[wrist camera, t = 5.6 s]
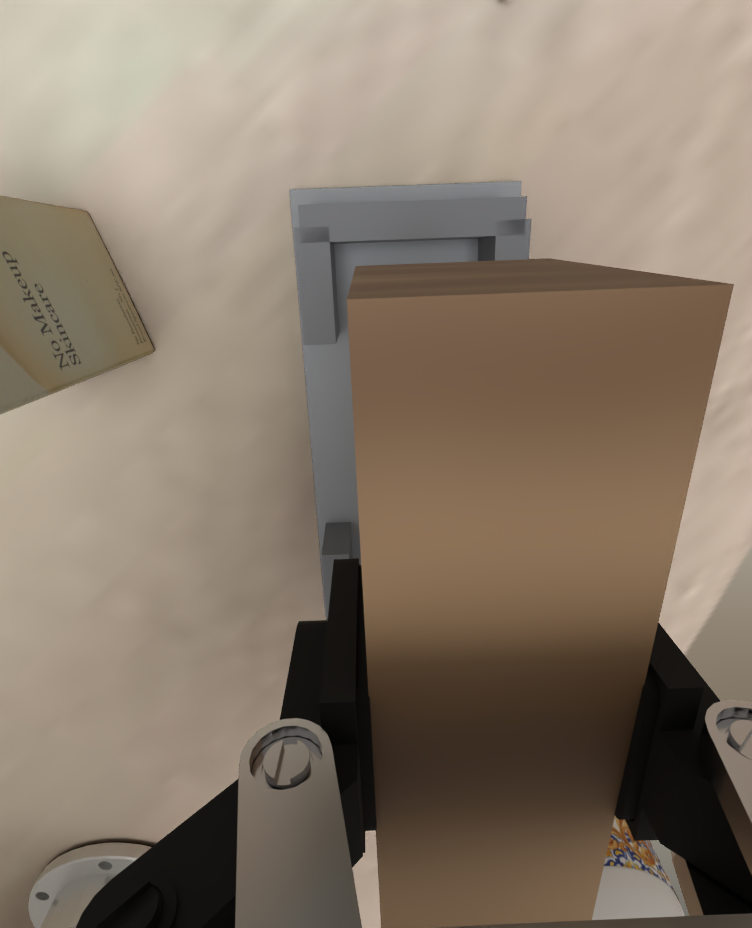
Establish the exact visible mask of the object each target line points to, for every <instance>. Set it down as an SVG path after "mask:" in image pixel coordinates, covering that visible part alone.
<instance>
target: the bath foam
mask: <svg viewBox="0 0 752 928" xmlns="http://www.w3.org/2000/svg"><path fill="white" fill-rule="evenodd" d="M676 916H685V915H684V913H683V911H682V908H681V906H680V903H679V899H678V897H677V895H676V893H675V891H674V889H673V887H672V885H671V883H670V881H669V879H668V877H667V875H666V873H665V870H664V868H663V866H662V864H661V862H660V860H659V859H658V856H657V854H656V852H655V850H654V848H653V846H652V844H651V842H650V840H644V841H635V840H634V838H633V836H632V834H631V832H630V829H629V827H628V825H627V823H626V821H625V820H619V819H617V818H616V816H615V818H614V823H613V827H612V832H611V836H610V841H609V845H608V850H607V854H606V858H605V863H604V867H603V872H602V876H601V881H600V885H599V890H598V894H597V899H596V903H595V908H594V912H593V917H592V920H606V919H629V918H653V917H676Z"/></svg>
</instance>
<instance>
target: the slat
mask: <svg viewBox="0 0 752 928" xmlns="http://www.w3.org/2000/svg"><path fill="white" fill-rule="evenodd" d="M733 285H734V284H727V283H720V282H713V281H706V280H699V279H692V278H684V277H677V276H670V275H663V274H656V273H649V272H641V271H634V270H627V269H620V268H613V267H606V266H598V265H591V264H584V263H577V262H570V261H563V260H555V259H524V260H499V261H473V262H447V263H421V264H395V265H369V266H356V267H355V270H354V274H353V278H352V282H351V285H350V289H349V293H348V297H347V313H348V331H349V349H350V367H351V386H352V404H353V422H354V440H355V458H356V476H357V495H358V513H359V531H360V549H361V567H362V586H363V604H364V622H365V640H366V658H367V677H368V695H369V697H370V709H371V728H372V747H373V765H374V784H375V803H376V821H377V830H376V840H377V858H378V877H379V895H380V913H381V928H436V927H456V926H476V925H496V924H516V923H539V922H561V921H584V920H592V917H593V912H594V908H595V903H596V899H597V894H598V890H599V885H600V881H601V876H602V872H603V867H604V863H605V858H606V854H607V850H608V845H609V841H610V836H611V832H612V827H613V823H614V818H615V815H614V814H615V810H616V805H617V801H618V796H619V792H620V787H621V783H622V778H623V774H624V769H625V765H626V760H627V756H628V751H629V747H630V742H631V738H632V733H633V729H634V724H635V720H636V715H637V711H638V706H639V702H640V697H641V693H642V688H643V685H644V684H645V679H646V675H647V670H648V666H649V661H650V657H651V653H652V648H653V644H654V639H655V635H656V630H657V626H658V621H659V617H660V612H661V608H662V603H663V599H664V594H665V590H666V585H667V581H668V576H669V572H670V567H671V563H672V558H673V554H674V550H675V545H676V541H677V536H678V532H679V527H680V523H681V518H682V514H683V509H684V505H685V500H686V496H687V491H688V487H689V482H690V478H691V473H692V469H693V464H694V460H695V456H696V451H697V447H698V442H699V438H700V433H701V429H702V424H703V420H704V415H705V411H706V406H707V402H708V397H709V393H710V388H711V384H712V379H713V375H714V370H715V366H716V361H717V357H718V353H719V348H720V344H721V339H722V335H723V330H724V326H725V321H726V317H727V312H728V308H729V303H730V299H731V294H732V290H733Z"/></svg>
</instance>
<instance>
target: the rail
mask: <svg viewBox="0 0 752 928" xmlns="http://www.w3.org/2000/svg"><path fill="white" fill-rule="evenodd" d="M289 192H290V204H291V215H292V227H293V239H294V251H295V263H296V274H297V286H298V298H299V310H300V322H301V333H302V345H303V357H304V369H305V381H306V392H307V404H308V416H309V428H310V440H311V451H312V463H313V475H314V487H315V499H316V510H317V522H318V534H319V546H320V558H321V569H322V581H323V593H324V605H325V617H327V620H328V611H329V602H330V592H331V582H332V572H333V563H334V559H354V558H359V565H361V549H360V531H359V513H358V495H357V476H356V458H355V440H354V422H353V404H352V386H351V367H350V349H349V331H348V313H347V297H348V293H349V289H350V285H351V282H352V278H353V274H354V270H355V267H356V266H369V265H395V264H421V263H447V262H473V261H499V260H524V259H529V246H530V231H531V219H526V203H527V196H526V197H521V181H509V182H482V183H455V184H428V185H400V186H373V187H346V188H318V189H291V190H289Z"/></svg>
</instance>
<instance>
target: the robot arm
mask: <svg viewBox="0 0 752 928" xmlns="http://www.w3.org/2000/svg"><path fill="white" fill-rule="evenodd" d="M614 815H615V816H616V818H617V819H619V820H625V821H626V823H627V825H628V827H629V829H630V832H631V834H632V836H633V838H634V840H635V841H644V840H659V842H660V843H661V844H662V845H664V846H665V847H667V848H668V849H670V850H671V854H672V861H673V864H674V868H675V871H676V874H677V877H678V880H679V884H680V887H681V890H682V893H683V897H684V900H685V903H686V906H687V909H688V913H689V916H676V917H653V918H629V919H606V920H584V921H561V922H539V923H516V924H496V925H476V926H456V927H436V928H752V703H750V702H745V701H740V700H723V701H720V700H719V699H718V697H717V696H716V695H715V694H714V692H713V691H712V690H711V688H710V687H709V686H708V685H707V683H706V682H705V681H704V680H703V678H702V677H701V676H700V675H699V673H698V672H697V671H696V669H695V668H694V667H693V666H692V665H691V664H690V662H689V661H688V659H687V658H686V657H685V656H684V654H683V653H682V652H681V650H680V649H679V648H678V647H677V645H676V644H675V643H674V642H673V640H672V639H671V638H670V637H669V635H668V634H667V633H666V631H665V630H664V629H663V628H662V626H661V625H660V624H659V623H658V626H657V630H656V635H655V639H654V644H653V648H652V653H651V657H650V661H649V666H648V670H647V675H646V679H645V684H644V685H643V688H642V693H641V697H640V702H639V706H638V711H637V715H636V720H635V724H634V729H633V733H632V738H631V742H630V747H629V751H628V756H627V760H626V765H625V769H624V774H623V778H622V783H621V787H620V792H619V796H618V801H617V805H616V810H615V814H614ZM370 830H377V821H376V803H375V784H374V765H373V747H372V728H371V709H370V697H369V695H368V677H367V658H366V640H365V622H364V604H363V586H362V567H361V565H359V558H354V559H334V563H333V572H332V582H331V592H330V602H329V611H328V620H323V621H299V623H298V625H297V629H296V634H295V640H294V645H293V651H292V656H291V662H290V667H289V673H288V678H287V684H286V689H285V695H284V700H283V706H282V711H281V716H280V720H279V721H276V722H273V723H270V724H268V725H267V726H265V727H264V728H262V729H260V730H259V731H257V732H256V734H255V735H254V736H253V737H252V738H251V739H250V740H249V741H248V742H247V744H246V746H245V747H244V749H243V751H242V753H241V758H240V763H239V779H238V780H236V781H235V782H234V783H233V784H231V785H230V786H229V787H227V788H226V789H225V790H224V791H222V792H221V793H220V794H219V795H217V796H216V797H215V798H214V799H212V800H211V801H210V802H208V803H207V804H206V805H205V806H203V807H202V808H201V809H200V810H198V811H197V812H196V813H195V814H193V815H192V816H191V817H190V818H188V819H187V820H186V821H184V822H183V823H182V824H181V825H179V826H178V827H177V828H176V829H174V830H173V831H172V832H171V833H169V834H168V835H167V836H165V837H164V838H163V839H162V840H160V841H159V842H158V843H157V844H155V845H154V846H153V847H150V846H146V845H142V844H132V843H100V844H94V845H87V846H84V847H81V848H78V849H74V850H71V851H69V852H67V853H65V854H63V855H61V856H59V857H57V858H56V859H55V860H53V861H52V862H51V863H50V864H48V865H47V866H46V867H45V869H44V870H43V871H42V873H41V874H40V875H39V877H38V879H37V881H36V883H35V885H34V887H33V888H32V890H31V893H30V896H29V901H28V910H29V916H30V919H31V921H32V923H33V926H34V928H362V925H361V919H360V913H359V907H358V901H357V895H356V889H355V883H354V877H353V871H352V867H353V866H354V865H355V864H356V863H357V862H358V861H359V860H360V859H361V857H362V856H363V853H365V831H370Z"/></svg>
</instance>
